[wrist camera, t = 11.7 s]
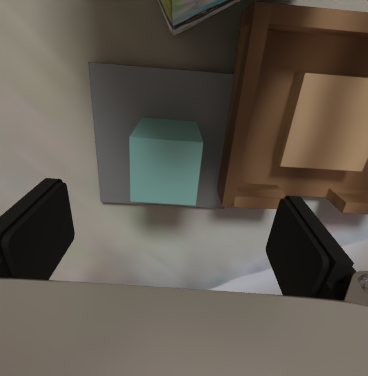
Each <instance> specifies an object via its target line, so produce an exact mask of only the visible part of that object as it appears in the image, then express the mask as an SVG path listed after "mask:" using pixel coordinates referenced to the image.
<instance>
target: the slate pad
mask: <svg viewBox="0 0 368 376" xmlns="http://www.w3.org/2000/svg"><path fill="white" fill-rule="evenodd" d="M88 63H89V74H90V86H91V97H92V108H93V119H94V130H95V142H96V153H97V164H98V175H99V187H100V198H101V202H111V203H130V204H149V205H168V206H187V207H206V208H224V207H225V206H222V205H221V201H220V198H219V195H218V192H217V186H218V180H219V173H220V167H221V160H222V153H223V147H224V140H225V133H226V127H227V120H228V114H229V107H230V100H231V94H232V87H233V80H234V74H227V73H215V72H203V71H190V70H178V69H166V68H154V67H141V66H129V65H117V64H105V63H92V62H88ZM142 117H144V118H156V119H169V120H181V121H194V122H197V124H198V127H199V131H200V134H201V137H202V140H203V149H202V158H201V166H200V174H199V182H198V190H197V199H196V206H195V205H179V204H162V203H146V202H130V146H129V137H130V135H131V134H132V132H133V131H134V129H135V128H136V126H137V124H138V123H139V121H140V120H141V118H142Z"/></svg>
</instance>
